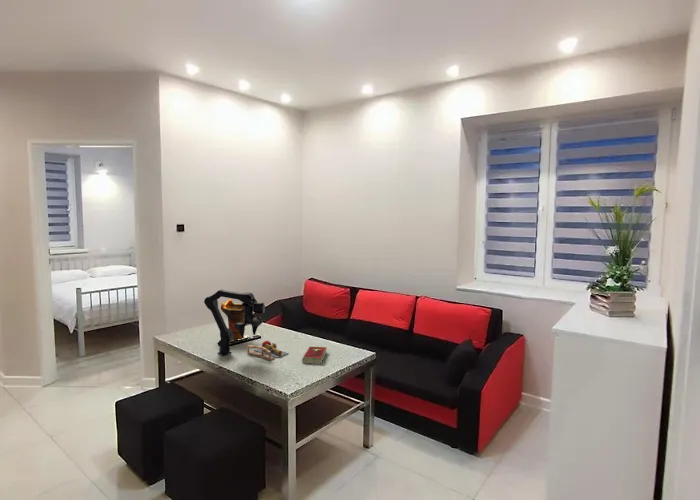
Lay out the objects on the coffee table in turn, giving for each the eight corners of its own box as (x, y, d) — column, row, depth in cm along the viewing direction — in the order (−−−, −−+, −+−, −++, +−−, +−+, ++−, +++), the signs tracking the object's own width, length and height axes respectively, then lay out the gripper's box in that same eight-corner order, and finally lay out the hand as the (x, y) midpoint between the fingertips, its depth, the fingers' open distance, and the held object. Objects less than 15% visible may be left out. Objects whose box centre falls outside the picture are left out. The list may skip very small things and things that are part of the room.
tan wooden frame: (247, 353, 264) (247, 345, 263) (252, 351, 267) (252, 343, 267) (269, 360, 252) (269, 352, 251) (274, 358, 255) (274, 350, 255)
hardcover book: (302, 363, 250) (302, 356, 249) (309, 352, 270) (309, 346, 270) (321, 364, 248) (321, 357, 248) (326, 353, 269) (326, 346, 269)
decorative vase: (250, 342, 285) (247, 303, 283) (217, 343, 286) (215, 304, 283) (257, 333, 306) (255, 297, 304) (227, 334, 306) (224, 298, 304)
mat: (253, 350, 269) (253, 350, 269) (265, 347, 277) (265, 346, 277) (277, 358, 256) (277, 357, 256) (288, 353, 265) (288, 353, 265)
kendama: (285, 355, 264) (269, 345, 276) (284, 346, 262) (268, 337, 274) (275, 360, 258) (259, 349, 270) (275, 351, 256) (258, 341, 268)
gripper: (245, 317, 247) (245, 342, 248) (268, 312, 262) (268, 335, 264) (233, 314, 253) (233, 339, 255) (256, 309, 269) (256, 332, 270)
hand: (248, 336), depth 261 cm, fingers open, 9 cm apart
